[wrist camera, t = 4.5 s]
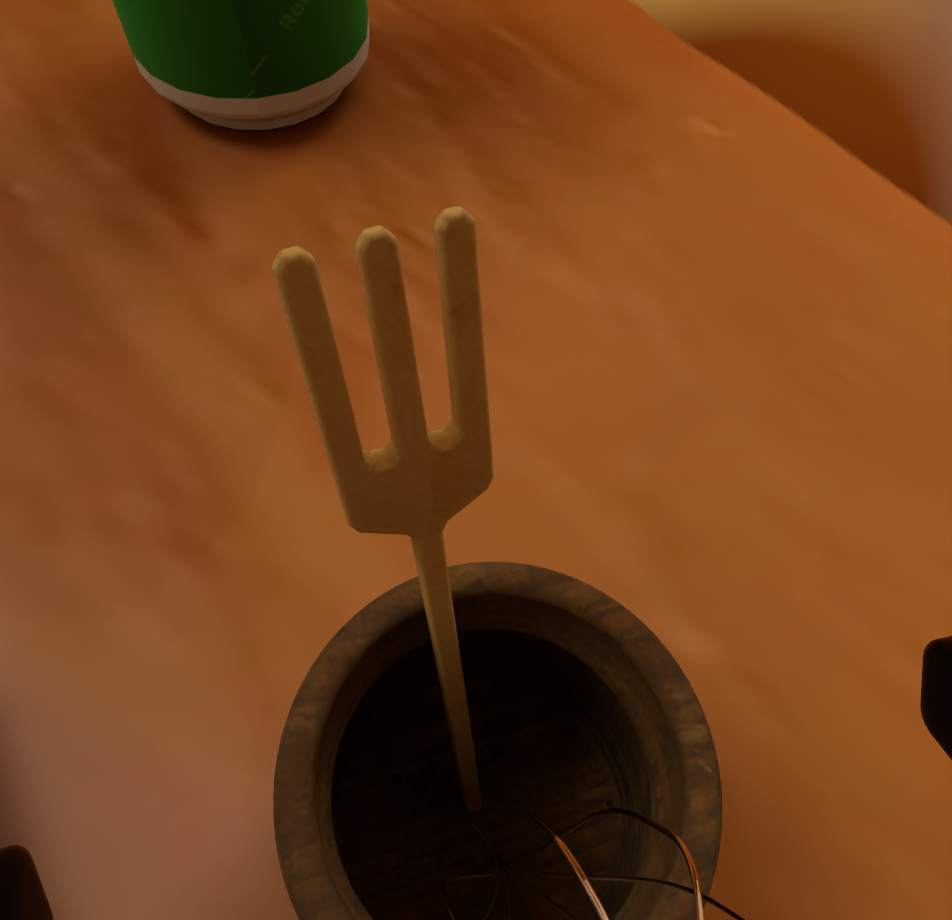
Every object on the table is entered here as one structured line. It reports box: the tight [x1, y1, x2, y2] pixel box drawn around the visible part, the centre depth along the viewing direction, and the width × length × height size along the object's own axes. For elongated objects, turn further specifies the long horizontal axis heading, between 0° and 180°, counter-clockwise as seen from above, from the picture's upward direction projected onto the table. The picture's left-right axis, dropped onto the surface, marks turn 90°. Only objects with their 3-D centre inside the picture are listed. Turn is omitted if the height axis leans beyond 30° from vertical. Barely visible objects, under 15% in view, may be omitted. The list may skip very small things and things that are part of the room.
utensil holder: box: [272, 206, 747, 920], centre depth 9 cm, size 6×6×12 cm
